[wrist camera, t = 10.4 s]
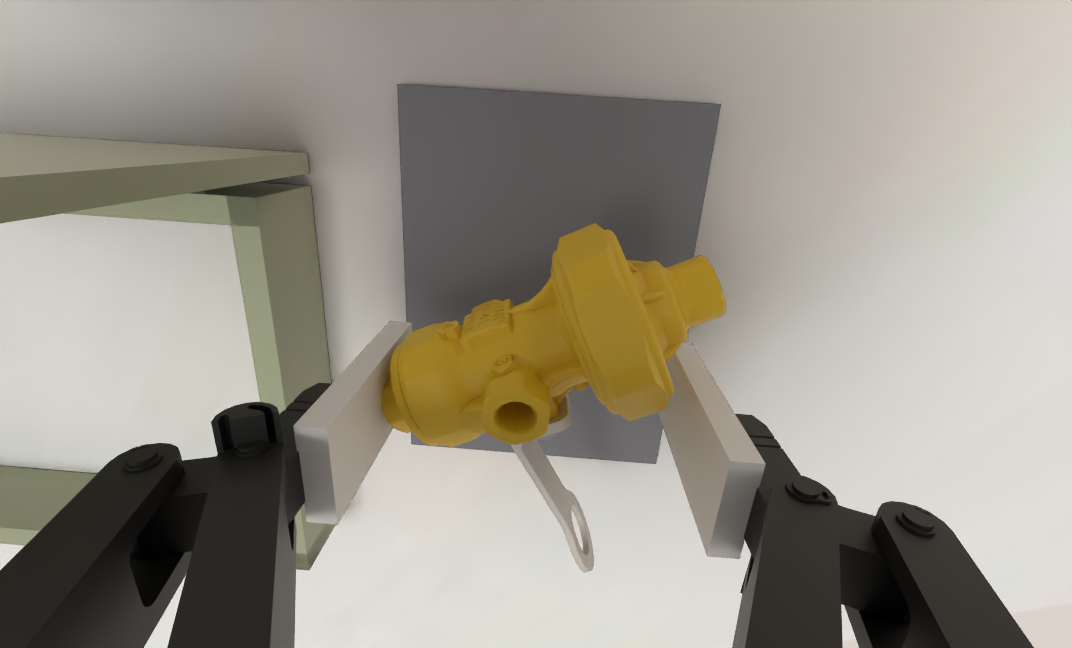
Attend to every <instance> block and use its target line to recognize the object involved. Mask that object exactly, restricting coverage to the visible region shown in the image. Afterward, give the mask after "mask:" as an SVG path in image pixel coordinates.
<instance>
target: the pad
mask: <svg viewBox="0 0 1072 648" xmlns="http://www.w3.org/2000/svg"><path fill="white" fill-rule="evenodd" d="M397 89H398V114H399V140H400V165H401V191H402V216H403V242H404V268H405V293H406V319H407V322H409V323H411V324H412V332H414V331H416V330H419V329H421V328H424V327H426V326H429V325H431V324H434V323H443V322H446V321H449V322H452V321H455V320H456V321H457V322H458V323H459V325H461V326H463V322H464V318H465V316H467V315H469V314H471V311H472V310H473V308H474V307H476V306H478V305H481V304H483V303H485V302H488V301H491V300H494V299H495V300H500V301H504V300H507V299H510V300H511V302H512V303H513V305H514V306H516V305H519V304H522V303H524V302H528V301H529V300H531V299H532V298H533V297H535V296H536V295H537V294H538V293H539V292H540V291H541V290H542V289H543V287H544V286H545V285H546V284H547V282H548V280H549V279H550V277H551V266H552V256H553V253H554V252H555V251H556V250H557V247H558V242H559V238H560V237H563V236H565V235H567V234H570V233H572V232H575V231H577V230H579V229H582V228H584V227H587V226H589V225H591V224H594V223H596V224H597V225H598V226H600V227H601V228H602V229H603V230H607V229H608V230H611V231H612V232H613V233H614V234H615V236H616V238H617V240H618V242H619V244H620V246H621V249H622V251H623V253H624V256H625V258H626V260H634V261H642V262H649V261H657V262H659V263H660V264H661V265H662V266H663V267H665V268H666V267H670V266H673V265H675V264H678V263H681V262H683V261H686V260H688V259H691V258H693V257H694V251H695V246H696V240H697V235H698V229H699V224H700V218H701V212H702V207H703V201H704V196H705V190H706V185H707V179H708V174H709V168H710V163H711V157H712V152H713V146H714V140H715V135H716V129H717V124H718V118H719V113H720V107H721V104H708V103H692V102H676V101H660V100H644V99H628V98H612V97H596V96H580V95H564V94H548V93H532V92H516V91H500V90H484V89H468V88H452V87H436V86H420V85H403V84H397ZM567 394H568V396H569V400H570V405H571V413H572V424H571V426H570V427H568V428H567V429H565V430H563V431H561V432H560V433H559V434H557V435H556V436H554V437H553V438H551V439H549V440H540V439H536V440H537V441H538V443H539V445H540V447H541V448H542V450H543V452H544V453H545V455H550V456H563V457H575V458H588V459H600V460H612V461H625V462H637V463H650V464H656V462H657V456H658V451H659V445H660V440H661V434H662V429H663V425H662V422H661V419H660V417H659V414H658V412H657V413H654V414H651V415H648V416H645V417H642V418H639V419H636V420H633V421H628V420H626V419H625V418H623V417H622V416H621V415H620V414H613V413H612V412H610V411H609V410H608V409H607V407H606V406H605V405H603V404H601V402H600V401H599V400H598V398H597V397H596V395H595V393H594V392H593V390H592V388H591V386H590V384H588V386H587V388H586V389H584V390H581V391H577V390H575V389H574V388H573V389H572V390H571V391H569V392H568V393H567ZM411 444H414V445H427V446H431V445H428V444H426V443H424V442H422V441H421V440H420V439H418V438H417V437H416V436H415V435H414V434H413V432H412V431H411ZM437 446H439V447H449V446H441V445H437ZM451 448H464V449H476V450H489V451H501V452H513V453H515V451H514V450H513V448H512V446H511V445H510V444H506V443H504V442H502V441H499V440H497V439H495V438H494V437H492V436H491V435H489V434H487V433H484V434H481V435H480V436H479V437H478V438H476V439H474V440H472V441H469V442H466V443H463V444H460V445H457V446H454V447H451Z"/></svg>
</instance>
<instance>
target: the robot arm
mask: <svg viewBox="0 0 1072 648" xmlns="http://www.w3.org/2000/svg"><path fill="white" fill-rule="evenodd" d="M411 332H412V324H411V323H409V322H395V321H389V322H388V324H387V325H386V326H385V327H384V328H383V329H382V330H381V331H380V332H379V333H378V334H377V336H376V337H375V338H374V339H373V340H372V341H371V342H370V343H369V344H368V345H367V346H366V347H365V349H364V350H363V351H362V352H361V353H360V354H359V355H358V356H357V357H356V358H355V359H354V360H353V362H352V363H351V364H350V365H349V366H348V367H347V368H346V369H345V370H344V371H343V372H342V374H341V375H340V376H339V377H338V378H337V379H336V380H335V381H334V382H333V383H332V384H331V383H317V384H315V385H313V386H311V387H309V388H307V389H306V390H304V391H302V392H301V393H300V394H299V395H298V396H297V397H296V398H295V399H294V402H291V403H290V404H289V405H288V406H287V407H286V409H285V410H283V411H282V412H281V413H280V414H279V411H278V408H277V407H276V406H274V405H272V404H271V403H264V402H250V403H244V404H240V405H236V406H233V407H231V408H228V409H226V410H224V411H222V412H221V413H219V414H218V415H216V416H215V417H214V419H213V420H212V422H211V424H212V428H213V433H214V438H215V443H216V447H217V452H218V455H217V456H216V457H210V458H201V459H193V460H184V461H182V459H181V455H180V451H179V449H178V447H176V446H174V445H172V444H165V443H156V444H147V445H142V446H140V447H135V448H132V449H130V450H129V451H126V452H124V453H122V454H120V455H118V456H117V457H115V458H114V459H113V460H111V461H110V462H109V463H108V464H107V465H106V466H105V467H104V468H103V469H102V470H101V471H100V472H99V473H98V474H97V475H96V476H95V477H94V478H93V479H92V480H91V481H90V482H89V483H88V484H87V485H86V486H85V487H84V488H83V489H82V490H81V491H80V492H79V493H78V494H77V495H76V496H75V497H74V498H73V499H72V500H71V501H70V502H69V503H68V504H67V505H66V506H65V507H64V508H62V509H61V510H60V511H59V512H58V513H57V514H56V515H55V516H54V517H53V518H52V519H51V520H50V521H49V522H48V523H47V524H46V525H45V526H44V527H43V528H42V529H41V530H40V531H39V532H38V533H37V534H36V535H35V536H34V537H33V538H32V539H31V540H30V541H29V542H28V543H27V544H26V545H25V546H24V547H23V548H22V549H21V550H20V551H19V552H18V553H17V554H16V555H15V556H14V557H13V558H12V559H11V560H10V561H9V562H8V563H7V564H6V565H5V566H4V567H3V568H2V569H1V570H0V648H144V646H145V644H146V643H147V641H148V639H149V637H150V636H151V634H152V632H153V630H154V629H155V627H156V625H157V624H158V622H159V620H160V618H161V617H162V615H163V613H164V611H165V610H166V608H167V606H168V605H169V603H170V601H171V599H172V598H173V596H174V594H175V593H176V591H177V589H178V587H179V586H180V584H181V582H182V580H183V579H184V577H185V575H186V578H185V582H184V586H183V590H182V594H181V597H180V601H179V605H178V609H177V613H176V617H175V621H174V624H173V628H172V632H171V636H170V640H169V644H168V648H294V635H295V586H296V537H297V529H296V522H295V516H296V514H297V513H298V511H299V510H300V508H301V507H302V506H303V504H304V506H305V513H306V521H307V522H312V523H324V524H336V525H338V523H339V521H340V520H341V518H342V516H343V514H344V513H345V511H346V509H347V507H348V506H349V504H350V502H351V500H352V499H353V497H354V495H355V493H356V492H357V490H358V488H359V486H360V485H361V483H362V481H363V480H364V478H365V476H366V474H367V473H368V471H369V469H370V467H371V466H372V464H373V462H374V460H375V459H376V457H377V455H378V453H379V452H380V450H381V448H382V446H383V445H384V443H385V441H386V440H387V438H388V436H389V434H390V433H391V431H392V429H393V427H392V426H391V425H390V424H389V423H388V421H387V419H386V418H385V416H384V414H383V412H382V409H381V405H382V391H383V388H384V386H385V384H386V382H387V380H388V378H389V376H390V363H391V358H392V354H393V352H394V350H395V348H396V347H397V346H398V345H399V344H401V343H403V341H404V340H405V339H406V338H407V337H408V335H409V333H411ZM666 365H667V368H668V371H669V374H670V377H671V380H672V383H673V387H674V393H673V395H672V396H671V397H669V399H668V405H667V409H666V410H663V411H660V412H658V414H659V417H660V419H661V422H662V425H663V428H664V431H665V434H666V437H667V440H668V443H669V446H670V449H671V452H672V455H673V458H674V460H675V463H676V466H677V469H678V472H679V475H680V478H681V481H682V484H683V487H684V490H685V493H686V496H687V499H688V501H689V504H690V507H691V510H692V513H693V516H694V519H695V522H696V525H697V528H698V531H699V534H700V537H701V540H702V542H703V545H704V548H705V551H706V554H707V556H711V557H723V558H734V559H739V558H740V555H741V551H742V548H743V544H744V540H745V541H746V543H747V546H748V548H749V550H750V552H751V558H750V561H749V564H748V568H747V571H746V575H745V578H744V582H743V585H742V589H741V592H740V593H742V599H741V605H740V610H739V615H738V620H737V626H736V631H735V636H734V641H733V647H732V648H842V616H841V604H843V605H845V608H846V611H847V614H848V617H849V620H850V623H851V625H852V628H853V631H854V634H855V637H856V640H857V642H858V645H859V648H1034V647H1033V646H1032V644H1031V643H1030V642H1029V640H1028V639H1027V637H1026V636H1025V634H1024V633H1023V631H1022V630H1021V629H1020V627H1019V626H1018V624H1017V623H1016V622H1015V620H1014V619H1013V617H1012V616H1011V614H1010V613H1009V611H1008V610H1007V608H1006V607H1005V606H1004V604H1003V603H1002V601H1001V600H1000V598H999V597H998V596H997V594H996V593H995V591H994V590H993V588H992V587H991V586H990V584H989V583H988V581H987V580H986V578H985V577H984V575H983V574H982V573H981V571H980V570H979V568H978V567H977V565H976V564H975V563H974V561H973V560H972V558H971V557H970V555H969V554H968V553H967V551H966V550H965V548H964V547H963V545H962V544H961V542H960V541H959V540H958V538H957V537H956V535H955V534H954V532H953V531H952V530H951V529H950V528H949V527H948V526H947V525H946V524H945V523H944V522H943V521H942V520H940V519H939V518H937V517H936V516H934V515H933V514H932V513H930V512H928V511H926V510H923V509H922V508H920V507H917V506H914V505H910V504H907V503H903V502H894V501H890V502H886V503H882V505H881V506H880V507H879V509H878V512H877V514H876V516H873V515H869V514H866V513H862V512H859V511H855V510H852V509H848V508H845V507H842V506H839V505H838V503H837V500H836V498H835V496H834V495H833V494H832V493H831V492H830V490H829V489H828V488H826V487H825V486H823V485H822V484H820V483H819V482H817V481H814V480H812V479H810V478H807V477H805V476H801V475H800V473H799V472H798V471H797V469H796V468H795V466H794V465H793V463H792V462H791V460H790V459H789V458H788V456H787V455H786V453H785V452H784V450H783V449H781V446H780V445H779V443H778V442H777V440H776V439H774V436H773V435H772V433H771V432H770V430H769V429H768V427H767V426H766V425H765V424H763V423H762V422H761V421H759V420H758V419H757V418H755V417H754V416H753V415H744V414H735V413H734V411H733V410H732V408H731V407H730V405H729V403H728V402H727V400H726V398H725V397H724V395H723V394H722V392H721V390H720V389H719V387H718V385H717V384H716V382H715V381H714V379H713V377H712V376H711V374H710V372H709V371H708V369H707V368H706V366H705V364H704V363H703V361H702V359H701V358H700V356H699V354H698V353H697V351H696V350H695V348H694V346H693V345H692V344H690V343H682V344H681V345H680V347H679V348H678V350H677V351H676V352H675V354H674V355H673V356H672V357H671V358H670V359H669V360H667V361H666Z"/></svg>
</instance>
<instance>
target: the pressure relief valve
mask: <svg viewBox="0 0 1072 648" xmlns="http://www.w3.org/2000/svg"><path fill="white" fill-rule="evenodd" d="M725 312H726V303H725V298H724V294H723V291H722V288H721V285H720V282H719V280H718V277H717V275H716V273H715V271H714V269H713V267H712V266H711V264H710V263H709V261H708V260H707V259H706V258H705V257H703V256H696V257H694V258H691V259H688V260H686V261H683V262H681V263H678V264H675V265H673V266H670V267H666V268H665V267H663V266H662V265H661V264H660V263H659V262H657V261H649V262H642V261H634V260H626V258H625V256H624V253H623V251H622V249H621V246H620V244H619V242H618V240H617V238H616V236H615V234H614V233H613V232H612V231H611V230H608V229H607V230H603V229H602V228H601V227H600V226H598V225H597V224H596V223H594V224H591V225H589V226H587V227H584V228H582V229H579V230H577V231H575V232H572V233H570V234H567V235H565V236H563V237H560V238H559V242H558V247H557V250H556V251H555V252H554V253H553V256H552V266H551V277H550V279H549V280H548V282H547V284H546V285H545V286H544V287H543V289H542V290H541V291H540V292H539V293H538V294H537V295H536V296H535V297H533V298H532V299H531V300H529V301H528V302H524V303H522V304H519V305H516V306H514V305H513V303H512V302H511V300H510V299H507V300H504V301H500V300H495V299H494V300H491V301H488V302H485V303H483V304H481V305H478V306H476V307H474V308H473V310H472V311H471V314H469V315H467V316H465V318H464V322H463V326H461V325H459V323H458V322H457V321H456V320H455V321H452V322H449V321H446V322H443V323H434V324H431V325H429V326H426V327H424V328H421V329H419V330H416V331H414V332H411V333H409V335H408V337H407V338H406V339H405V340H404V341H403V343H401V344H399V345H398V346H397V347H396V348H395V350H394V352H393V354H392V358H391V363H390V376H389V378H388V380H387V382H386V384H385V386H384V388H383V391H382V405H381V409H382V412H383V414H384V416H385V418H386V419H387V421H388V423H389V424H390V425H391V426H392V427H393V428H395V429H397V430H399V431H402V432H406V433H408V432H411V431H412V432H413V434H414V435H415V436H416V437H417V438H418V439H420V440H421V441H422V442H424V443H426V444H428V445H431V446H437V445H441V446H449V447H454V446H457V445H460V444H463V443H466V442H469V441H472V440H474V439H476V438H478V437H479V436H480V435H481V434H484V433H487V434H489V435H491V436H492V437H494V438H495V439H497V440H499V441H502V442H504V443H506V444H510V445H511V446H512V448H513V450H514V451H515V453H516V454H517V456H518V458H519V459H520V461H521V462H522V464H523V466H524V467H525V469H526V470H527V472H528V474H529V475H530V477H531V478H532V480H533V482H534V483H535V485H536V486H537V488H538V490H539V491H540V493H541V495H542V496H543V498H544V499H545V501H546V503H547V504H548V506H549V507H550V509H551V511H552V512H553V514H554V515H555V517H556V519H557V520H558V522H559V523H560V525H561V527H562V529H563V531H564V534H565V536H566V539H567V542H568V544H569V547H570V550H571V553H572V555H573V557H574V559H575V562H576V564H577V565H578V567H579V568H580V570H582V571H583V572H588V571H592V569H593V567H594V555H593V548H592V542H591V537H590V533H589V529H588V526H587V523H586V519H585V517H584V514H583V511H582V509H581V507H580V504H579V502H578V500H577V499H576V497H575V495H574V494H573V493H572V492H571V491H568V490H566V489H565V487H564V486H563V484H562V483H561V481H560V479H559V478H558V476H557V474H556V472H555V471H554V469H553V467H552V466H551V464H550V462H549V460H548V459H547V457H546V455H545V453H544V452H543V450H542V448H541V447H540V445H539V443H538V441H537V440H536V439H540V440H549V439H551V438H553V437H554V436H556V435H557V434H559V433H560V432H561V431H563V430H565V429H567V428H568V427H570V426H571V424H572V413H571V405H570V400H569V396H568V394H567V393H568V392H569V391H571V390H572V389H573V388H574V389H575V390H577V391H581V390H584V389H586V388H587V386H588V384H590V386H591V388H592V390H593V392H594V393H595V395H596V397H597V398H598V400H599V401H600V402H601V404H603V405H605V406H606V407H607V409H608V410H609V411H610V412H612V413H613V414H620V415H621V416H622V417H623V418H625V419H626V420H628V421H633V420H636V419H639V418H642V417H645V416H648V415H651V414H654V413H657V412H660V411H663V410H666V409H667V405H668V399H669V397H671V396H672V395H673V393H674V387H673V383H672V380H671V377H670V374H669V371H668V368H667V365H666V361H667V360H669V359H670V358H671V357H672V356H673V355H674V354H675V352H676V351H677V350H678V348H679V347H680V345H681V344H682V343H684V342H685V341H686V340H687V338H688V330H689V328H690V327H693V326H695V325H698V324H701V323H704V322H707V321H709V320H712V319H715V318H718V317H721V316H722V315H724V314H725ZM571 509H572V511H573V513H574V515H575V517H576V519H577V522H578V525H579V528H580V532H581V536H582V541H583V551H582V549H581V547H580V545H579V543H578V540H577V537H576V534H575V531H574V527H573V522H572V516H571Z"/></svg>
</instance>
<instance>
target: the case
mask: <svg viewBox="0 0 1072 648" xmlns="http://www.w3.org/2000/svg"><path fill="white" fill-rule="evenodd" d="M303 174H309V163H308V154H307V153H301V152H286V151H270V150H255V149H240V148H225V147H210V146H195V145H180V144H165V143H149V142H134V141H119V140H104V139H89V138H74V137H59V136H44V135H29V134H13V133H0V223H5V222H11V221H18V220H24V219H30V218H36V217H42V216H49V215H55V214H61V213H64V214H78V215H92V216H107V217H121V218H135V219H149V220H164V221H178V222H192V223H206V224H221V225H231V229H232V235H233V241H234V247H235V253H236V259H237V265H238V271H239V277H240V283H241V289H242V295H243V301H244V307H245V313H246V319H247V325H248V331H249V337H250V343H251V349H252V355H253V361H254V367H255V373H256V379H257V385H258V391H259V397H260V402H264V403H271V404H272V405H274V406H276V407H277V408H278V411H279V414H280V413H281V412H282V411H283V410H285V409H286V407H287V406H288V405H289V404H290V403H291V402H294V399H295V398H296V397H297V396H298V395H299V394H300V393H301V392H302V391H304V390H306V389H307V388H309V387H311V386H313V385H315V384H317V383H331V374H330V365H329V355H328V346H327V336H326V326H325V317H324V307H323V298H322V288H321V278H320V269H319V259H318V250H317V240H316V230H315V221H314V211H313V202H312V192H311V186H304V185H290V184H275V183H260V182H259V181H266V180H272V179H278V178H284V177H291V176H297V175H303ZM96 475H97V474H93V473H81V472H69V471H57V470H45V469H33V468H21V467H9V466H0V543H3V544H14V545H26V544H27V543H28V542H29V541H30V540H31V539H32V538H33V537H34V536H35V535H36V534H37V533H38V532H39V531H40V530H41V529H42V528H43V527H44V526H45V525H46V524H47V523H48V522H49V521H50V520H51V519H52V518H53V517H54V516H55V515H56V514H57V513H58V512H59V511H60V510H61V509H62V508H64V507H65V506H66V505H67V504H68V503H69V502H70V501H71V500H72V499H73V498H74V497H75V496H76V495H77V494H78V493H79V492H80V491H81V490H82V489H83V488H84V487H85V486H86V485H87V484H88V483H89V482H90V481H91V480H92V479H93V478H94V477H95V476H96ZM295 522H296V529H297V537H296V569H299V570H310V568H311V566H312V565H313V563H314V561H315V559H316V558H317V556H318V554H319V553H320V551H321V549H322V547H323V546H324V544H325V542H326V540H327V539H328V537H329V535H330V534H331V532H332V530H333V528H334V527H335V525H336V524H324V523H312V522H307V521H306V513H305V506H304V504H303V506H302V507H301V508H300V510H299V511H298V513H297V514H296V516H295Z"/></svg>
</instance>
